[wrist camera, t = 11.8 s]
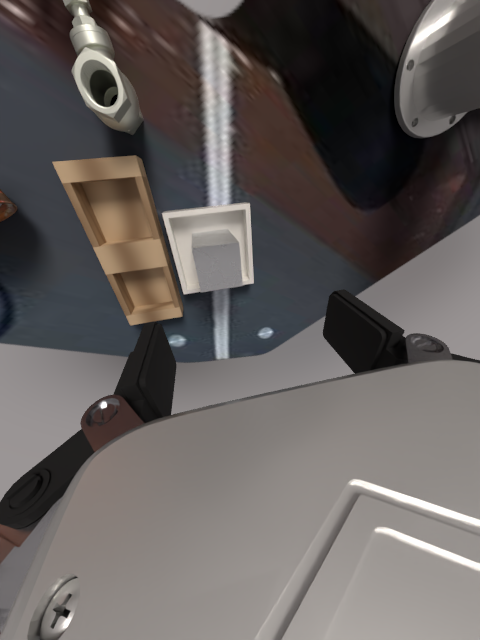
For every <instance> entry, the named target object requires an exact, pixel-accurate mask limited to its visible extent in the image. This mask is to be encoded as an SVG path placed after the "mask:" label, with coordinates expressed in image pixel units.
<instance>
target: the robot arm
mask: <svg viewBox="0 0 480 640" xmlns="http://www.w3.org/2000/svg"><path fill="white" fill-rule="evenodd" d="M394 105H395V114H396V117H397V120H398V123H399V125H400V126H401V128H402V130H403V131H404V132H405V133H406V134H408V135H409V136H411V137H414V138H427V137H432V136H435V135H438V134H441V133H442V132H444V131H446V130H448V129H449V128H451V127H452V126H453V125H454V124H456V123H457V122H458V121H459V120H460V119H461V118H462V117H463V116H464V115H465V114H466V113H467V112H468V111H471V110H475V109H478V108H480V0H431V2H430V3H429V4H428V5H427V7H426V8H425V9H424V11H423V12H422V14H421V16H420V17H419V19H418V20H417V22H416V24H415V25H414V27H413V30H412V32H411V34H410V36H409V38H408V40H407V42H406V45H405V48H404V50H403V53H402V56H401V59H400V63H399V66H398V70H397V74H396V81H395V88H394ZM403 333H404V330H403V329H402V328H400V327H399V326H397V325H396V324H394V323H393V322H391V321H390V320H388V319H387V318H386V317H384V316H383V315H381V314H380V313H378V312H377V311H375V310H374V309H372V308H371V307H369V306H368V305H367V304H365V303H364V302H362V301H361V300H359V299H358V298H356V297H355V296H353V295H352V294H350V293H349V292H347V291H346V290H339V291H334V292H333V293H332V294H331V295H330V296H329V301H328V306H327V312H326V318H325V323H324V329H323V336H324V338H325V339H326V340H327V342H328V343H329V344H330V345H331V346H332V347H333V348H334V350H335V351H336V352H337V353H338V354H339V356H340V357H341V358H342V359H343V360H344V361H345V363H346V364H347V365H348V366H349V367H350V368H351V370H352V371H353V372H354V373H355V374H352V375H347V376H342V377H337V378H333V379H328V380H323V381H319V382H314V383H309V384H305V385H301V386H296V387H292V388H287V389H282V390H278V391H273V392H268V393H264V394H260V395H255V396H251V397H246V398H242V399H237V400H232V401H228V402H224V403H219V404H215V405H210V406H206V407H202V408H198V409H193V410H190V411H185V412H181V413H177V414H173V415H171V409H172V399H173V391H174V383H175V374H176V361H175V358H174V356H173V353H172V350H171V348H170V345H169V343H168V340H167V337H166V335H165V332H164V330H163V327H162V325H161V324H157V322H154V323H148V324H144V326H143V329H142V331H141V334H140V336H139V339H138V341H137V344H136V347H135V349H134V351H133V352H131V353H130V355H129V357H128V360H127V362H126V365H125V367H124V369H123V372H122V374H121V377H120V379H119V382H118V385H117V387H116V389H115V392H114V394H113V395H109V396H106V397H103V398H101V399H99V400H98V401H96V402H95V403H94V404H93V405H91V406H90V407H89V408H88V409H87V411H86V412H85V413H84V415H83V417H82V419H81V427H82V429H81V430H80V431H78V432H77V433H76V434H75V435H73V436H72V437H71V438H70V439H68V440H67V441H66V442H65V443H63V444H62V445H61V446H60V447H58V448H57V449H56V450H55V451H54V452H52V453H51V454H50V455H48V456H47V457H46V458H45V459H43V460H42V461H41V462H40V463H38V464H37V465H36V466H35V467H33V468H32V469H31V470H29V471H28V472H27V473H26V474H24V475H23V476H22V477H21V478H20V479H19V480H18V481H17V482H15V483H14V484H13V485H12V487H11V488H10V489H9V490H8V491H7V493H6V494H5V495H4V497H3V499H2V500H1V502H0V640H480V361H479V360H475V359H471V358H467V357H463V356H459V355H455V354H451V353H450V351H449V348H448V347H447V345H446V344H445V343H444V342H442V341H440V340H439V339H437V338H435V337H432V336H429V335H425V334H410V335H408V336H407V337H406V338H405V337H403V336H402V335H403Z"/></svg>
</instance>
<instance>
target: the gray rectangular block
mask: <svg viewBox="0 0 480 640" xmlns="http://www.w3.org/2000/svg"><path fill="white" fill-rule="evenodd" d="M192 253H193V257H194V262H195V267H196V271H197V276H198V281H199V286H200V290H201V293H202V292H208V291H214V290H220V289H227V288H233V287H239V286H243V282H242V270H241V258H240V246H239V241H238V240H237V239H236V238H235V237H234V236H233V235H232V233H231V232H230V231H229V230H228V229H222V230H214V231H206V232H198V233H192Z"/></svg>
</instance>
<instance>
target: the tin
mask: <svg viewBox="0 0 480 640" xmlns="http://www.w3.org/2000/svg"><path fill="white" fill-rule="evenodd" d="M16 210H17V206H16V205H15V204H14V203H12V202H11V201H10V200H9V198H8V197H7V196H6V195H5V194H4V193H3V192H2V191H1V189H0V222H1V221H3V220H5V219H7V218H9V217H10V216H12V215H13V214H14V213H15V212H16Z"/></svg>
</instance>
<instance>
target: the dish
mask: <svg viewBox="0 0 480 640" xmlns="http://www.w3.org/2000/svg"><path fill="white" fill-rule="evenodd" d="M162 215H163V219H164V223H165V226H166V230H167V234H168V238H169V241H170V245H171V249H172V253H173V256H174V260H175V264H176V268H177V271H178V275H179V279H180V282H181V286H182V290H183V294H190V293H196V292H201V290H200V286H199V281H198V276H197V271H196V267H195V262H194V257H193V253H192V233H198V232H206V231H214V230H222V229H228V230H229V231H230V232H231V233H232V235H233V236H234V237H235V238H236V239H237V240H238V241H239V246H240V258H241V270H242V282H243V285H246V284H253V283H254V277H253V257H252V236H251V216H250V203H246V202H245V203H236V204H227V205H218V206H209V207H200V208H191V209H182V210H173V211H164V212H163V213H162Z"/></svg>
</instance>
